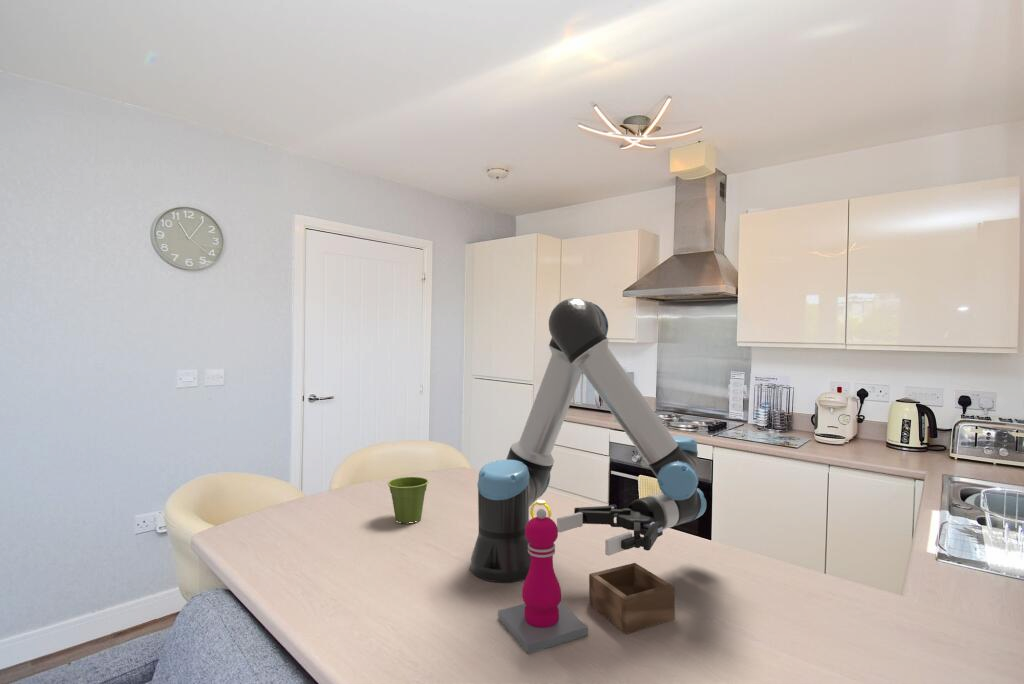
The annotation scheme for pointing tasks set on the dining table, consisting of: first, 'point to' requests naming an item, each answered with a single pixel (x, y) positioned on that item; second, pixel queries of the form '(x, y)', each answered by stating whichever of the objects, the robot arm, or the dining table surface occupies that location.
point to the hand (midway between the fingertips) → (580, 536)
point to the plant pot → (408, 497)
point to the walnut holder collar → (631, 597)
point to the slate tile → (537, 636)
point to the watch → (541, 502)
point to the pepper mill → (541, 573)
